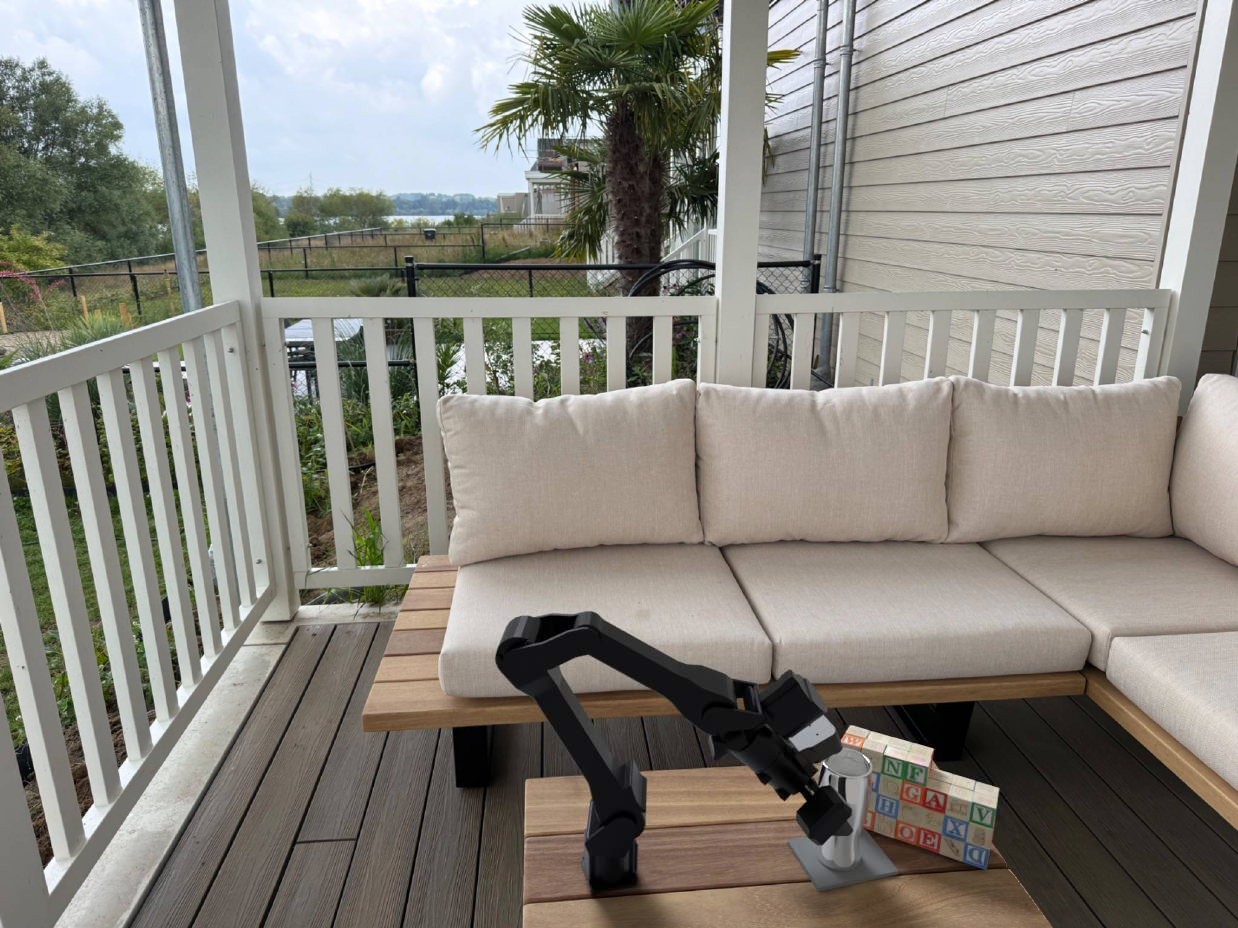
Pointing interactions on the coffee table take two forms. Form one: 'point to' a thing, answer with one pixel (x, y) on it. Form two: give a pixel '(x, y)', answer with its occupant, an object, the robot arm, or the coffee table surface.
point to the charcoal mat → (826, 878)
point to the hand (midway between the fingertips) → (832, 809)
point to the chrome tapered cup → (855, 786)
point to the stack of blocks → (925, 799)
